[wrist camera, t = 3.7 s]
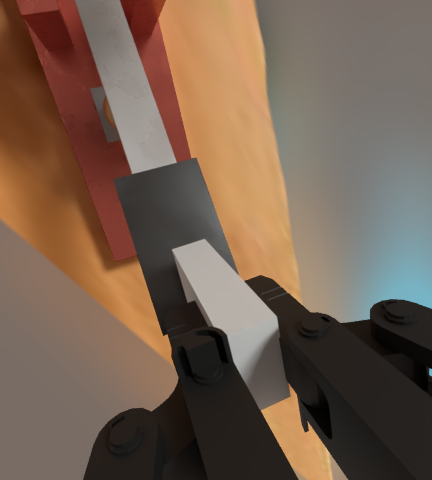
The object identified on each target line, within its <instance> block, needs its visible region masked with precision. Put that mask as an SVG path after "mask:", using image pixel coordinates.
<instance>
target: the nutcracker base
mask: <svg viewBox="0 0 432 480" xmlns="http://www.w3.org/2000/svg"><path fill="white" fill-rule="evenodd" d="M165 1H166V0H120V3H121V6H122V9H123V12H124V14H125V17H126V20H127V23H128V26H129V29H130V31H131V34H132V37H133V40H134V43H135V46H136V48H137V51H138V54H139V57H140V60H141V63H142V65H143V68H144V71H145V74H146V77H147V80H148V82H149V85H150V88H151V91H152V94H153V97H154V99H155V102H156V105H157V108H158V111H159V114H160V116H161V119H162V122H163V125H164V128H165V131H166V133H167V136H168V139H169V142H170V145H171V148H172V150H173V153H174V156H175V159H176V162H181V161H185V160H189V159H191V155H190V151H189V147H188V142H187V138H186V134H185V130H184V126H183V121H182V117H181V113H180V109H179V105H178V100H177V96H176V92H175V88H174V84H173V79H172V75H171V71H170V67H169V63H168V58H167V54H166V50H165V46H164V42H163V37H162V33H161V29H160V25H159V21H158V18H159V16H160V13H161V11H162V8H163V6H164V3H165ZM16 2H17V5H18V7H19V10H20V13H21V15H22V17H23V18H24V19H25V22H26V25H27V27H28V30H29V33H30V35H31V38H32V41H33V43H34V46H35V49H36V51H37V54H38V57H39V59H40V62H41V65H42V67H43V70H44V73H45V75H46V78H47V81H48V83H49V86H50V89H51V91H52V94H53V97H54V99H55V102H56V105H57V107H58V110H59V113H60V115H61V118H62V121H63V123H64V126H65V129H66V131H67V134H68V137H69V139H70V142H71V145H72V147H73V150H74V153H75V155H76V158H77V161H78V163H79V166H80V169H81V171H82V174H83V177H84V179H85V182H86V185H87V187H88V190H89V193H90V195H91V198H92V201H93V203H94V206H95V209H96V211H97V214H98V217H99V219H100V222H101V225H102V227H103V230H104V233H105V235H106V238H107V241H108V243H109V246H110V249H111V251H112V254H113V257H114V259H115V262H116V261H119V260H122V259H126V258H129V257H132V256H135V255H137V253H136V250H135V247H134V243H133V240H132V237H131V234H130V231H129V228H128V225H127V222H126V219H125V215H124V212H123V209H122V206H121V203H120V200H119V197H118V194H117V191H116V187H115V184H114V181H113V179H116V178H120V177H124V176H127V175H131V171H130V168H129V165H128V162H127V159H126V156H125V153H124V150H123V147H122V144H121V141H120V138H119V135H118V132H117V128H116V125H115V122H114V119H113V116H112V113H111V110H110V107H109V104H108V101H107V98H106V95H105V92H104V89H103V86H102V83H101V80H100V77H99V74H98V71H97V68H96V65H95V62H94V59H93V56H92V53H91V50H90V47H89V44H88V41H87V38H86V35H85V32H84V29H83V26H82V23H81V19H80V16H79V13H78V10H77V7H76V4H75V1H74V0H16Z"/></svg>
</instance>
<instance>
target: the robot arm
mask: <svg viewBox="0 0 432 480" xmlns="http://www.w3.org/2000/svg"><path fill="white" fill-rule="evenodd" d="M172 252H173V255H174V258H175V262H176V265H177V269H178V272H179V275H180V279H181V282H182V286H183V289H184V292H185V296H186V299H187V303H186V304H183V305H180V306H177V307H175V308H172V309H169V310H167V312H166V315H165V318H164V323H165V327H166V330H167V334H168V337H169V341H170V344H171V348H172V355H171V357H172V360H173V363H174V366H175V369H176V371H177V374H178V377H179V379H178V383H177V386H176V388H175V390H174V391H173V393H172V394H171V395H170V397H169V398H168V399H167V400H166V401H165V402H163V403H162V404H161V405H160V406H158V407H157V408H156V409H155V410H153V411H152V412H151V411H149V410H146V409H144V408H133V409H129V410H127V411H124V412H122V413H119V414H118V415H117V416H115V417H114V418H112V419H111V420H110V421H109V422H108V423H107V424H106V425H105V426H104V427H103V429H102V430H101V431H100V433H99V434H98V437H97V439H96V441H95V443H94V445H93V448H92V452H91V455H90V458H89V462H88V465H87V468H86V472H85V475H84V479H83V480H298V478H297V476H296V474H295V473H294V471H293V469H292V467H291V465H290V463H289V461H288V460H287V458H286V456H285V454H284V452H283V451H282V449H281V447H280V445H279V443H278V442H277V440H276V438H275V436H274V434H273V432H272V431H271V429H270V427H269V425H268V423H267V422H266V420H265V418H264V416H263V414H262V412H261V411H260V410H262V409H265V408H267V407H269V406H271V405H273V404H275V403H277V402H280V401H282V400H284V399H286V398H288V397H290V391H289V385H288V383H289V384H290V385H291V387H292V388H293V389H294V391H295V392H296V394H297V398H298V404H299V410H300V416H301V423H302V426H303V429H304V431H305V432H307V431H309V429H308V423H307V421H308V422H309V423H310V425H311V426H312V428H313V429H314V431H315V432H316V434H317V435H318V437H319V438H320V439H321V441H322V442H323V444H324V445H325V447H326V448H327V450H328V451H329V452H330V454H331V455H332V457H333V458H334V460H335V461H336V463H337V464H338V465H339V467H340V468H341V470H342V471H343V473H344V474H345V475H346V477H347V478H348V480H432V376H430V375H429V368H431V369H432V309H430V308H428V307H425V306H422V305H419V304H417V303H414V302H410V301H405V300H396V299H390V300H385V301H381V302H378V303H376V304H374V305H373V307H372V308H371V309H370V319H368V320H362V321H355V322H348V323H340V322H338V321H337V320H336V319H334V318H332V317H331V316H329V315H327V314H322V313H318V312H317V313H311V312H309V311H308V310H307V309H306V308H305V307H304V306H303V305H301V304H300V303H299V302H298V301H297V300H296V299H295V298H293V297H292V296H291V295H290V294H289V293H287V291H285V290H284V289H283V288H282V287H280V285H279V284H277V283H276V282H275V281H274V280H273V279H270V278H268V277H265V276H262V275H260V276H257V277H254V278H251V279H249V280H246V281H243V280H242V279H241V277H240V276H239V275H238V274H237V273H236V272H235V271H234V270H233V269H232V268H231V267H230V266H229V265H228V263H227V262H226V261H225V260H224V259H223V258H222V257H221V256H220V255H219V254H218V253H217V252H216V251H215V249H214V248H213V247H212V246H211V245H210V244H209V243H208V242H207V241H206V240H205V239H203V240H199V241H196V242H193V243H190V244H187V245H184V246H181V247H178V248H175V249H172Z"/></svg>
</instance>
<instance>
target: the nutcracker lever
mask: <svg viewBox="0 0 432 480" xmlns="http://www.w3.org/2000/svg"><path fill="white" fill-rule="evenodd" d="M74 1H75V4H76V7H77V10H78V13H79V16H80V19H81V23H82V26H83V29H84V32H85V35H86V38H87V41H88V44H89V47H90V50H91V53H92V56H93V59H94V62H95V65H96V68H97V71H98V74H99V77H100V80H101V83H102V86H103V89H104V92H105V95H106V98H107V101H108V104H109V107H110V110H111V113H112V116H113V119H114V122H115V125H116V128H117V132H118V135H119V138H120V141H121V144H122V147H123V150H124V153H125V156H126V159H127V162H128V165H129V168H130V171H131V175H127V176H124V177H120V178H116V179H113V181H114V184H115V187H116V191H117V194H118V197H119V200H120V203H121V206H122V209H123V212H124V215H125V219H126V222H127V225H128V228H129V231H130V234H131V237H132V240H133V243H134V247H135V250H136V253H137V256H138V259H139V262H140V265H141V268H142V272H143V275H144V278H145V281H146V284H147V287H148V290H149V293H150V296H151V300H152V303H153V306H154V309H155V312H156V315H157V318H158V321H159V325H160V328H161V331H162V334H163V336H164V335H167V330H166V327H165V323H164V318H165V315H166V312H167V310H169V309H172V308H175V307H177V306H180V305H183V304H186V303H187V299H186V296H185V292H184V289H183V286H182V282H181V279H180V275H179V272H178V269H177V265H176V262H175V258H174V255H173V252H172V249H175V248H178V247H181V246H184V245H187V244H190V243H193V242H196V241H199V240H203V239H205V240H206V241H207V242H208V243H209V244H210V245H211V246H212V247H213V248H214V249H215V251H216V252H217V253H218V254H219V255H220V256H221V257H222V258H223V259H224V260H225V261H226V262H227V263H228V265H229V266H230V267H231V268H232V269H233V270H234V271H235V272H236V273H237V274H238V271H237V268H236V266H235V263H234V260H233V257H232V255H231V252H230V249H229V246H228V244H227V241H226V238H225V235H224V233H223V230H222V227H221V224H220V222H219V219H218V216H217V213H216V211H215V208H214V205H213V202H212V200H211V197H210V194H209V191H208V189H207V186H206V183H205V180H204V177H203V175H202V172H201V169H200V166H199V164H198V161H197V158H192V159H189V160H185V161H181V162H176V159H175V156H174V153H173V150H172V148H171V145H170V142H169V139H168V136H167V133H166V131H165V128H164V125H163V122H162V119H161V116H160V114H159V111H158V108H157V105H156V102H155V99H154V97H153V94H152V91H151V88H150V85H149V82H148V80H147V77H146V74H145V71H144V68H143V65H142V63H141V60H140V57H139V54H138V51H137V48H136V46H135V43H134V40H133V37H132V34H131V31H130V29H129V26H128V23H127V20H126V17H125V14H124V12H123V9H122V6H121V3H120V0H74ZM238 275H239V274H238Z"/></svg>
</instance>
